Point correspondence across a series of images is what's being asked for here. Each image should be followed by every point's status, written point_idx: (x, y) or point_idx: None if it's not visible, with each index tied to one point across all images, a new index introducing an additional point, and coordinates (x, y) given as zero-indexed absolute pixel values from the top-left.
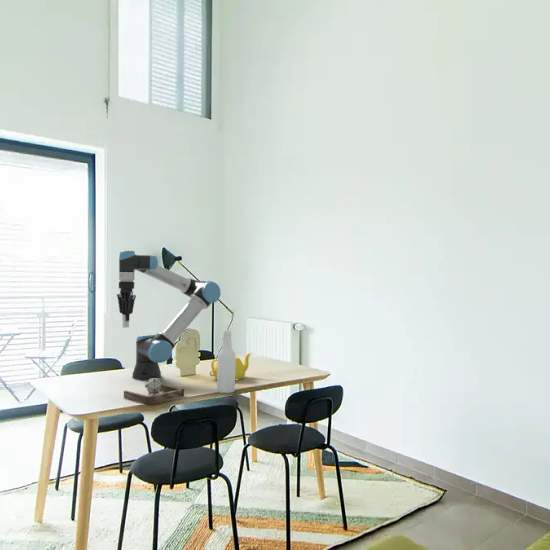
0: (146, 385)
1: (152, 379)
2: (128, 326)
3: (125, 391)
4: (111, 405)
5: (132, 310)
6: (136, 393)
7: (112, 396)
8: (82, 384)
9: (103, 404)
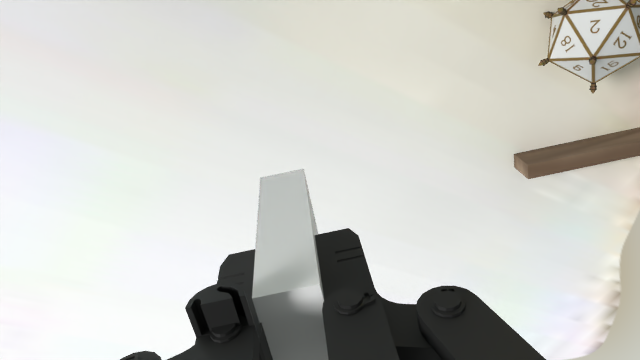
0: (595, 84)
1: (625, 55)
2: (305, 180)
3: (540, 176)
4: (583, 246)
5: (515, 341)
6: (609, 152)
7: (462, 196)
8: (148, 225)
9: (548, 263)
